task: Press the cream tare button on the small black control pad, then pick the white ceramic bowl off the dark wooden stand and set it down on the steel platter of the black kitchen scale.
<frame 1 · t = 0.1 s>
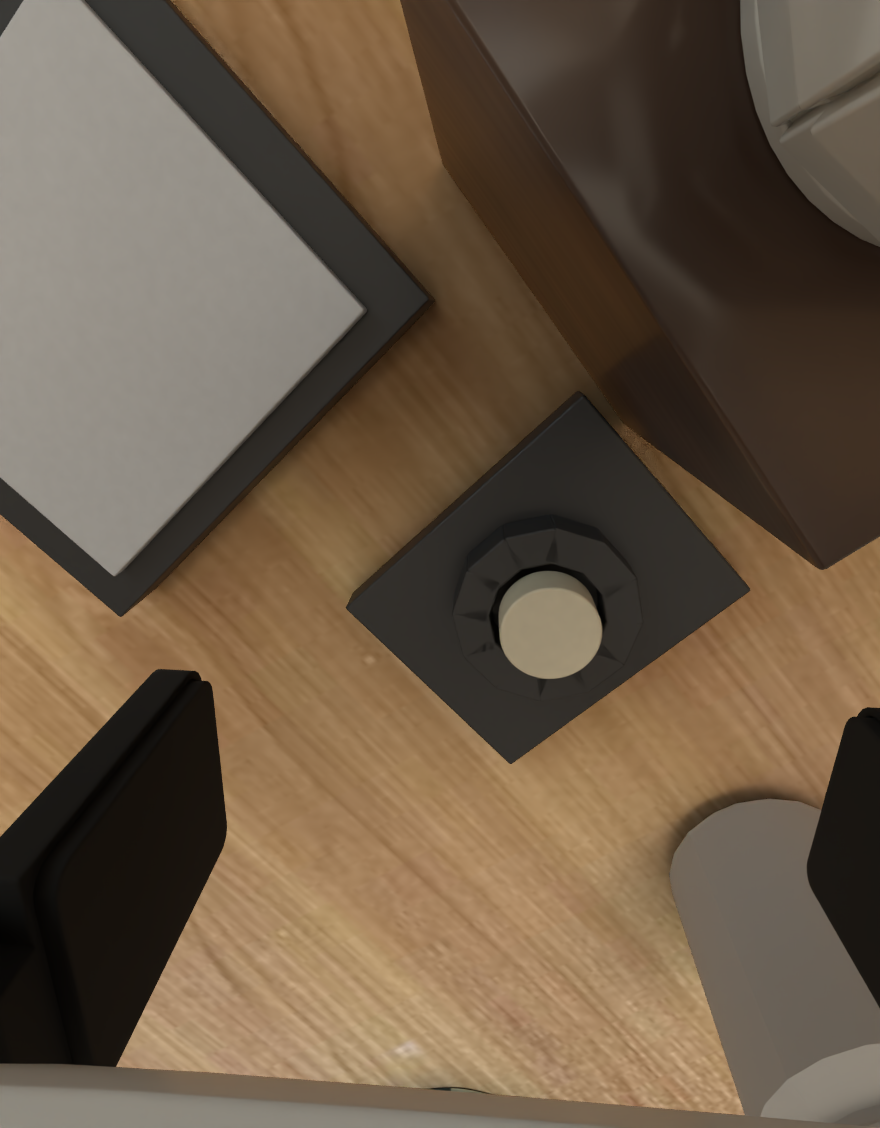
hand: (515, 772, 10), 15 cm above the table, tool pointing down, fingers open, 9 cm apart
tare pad: (540, 584, 25), on the table
scale: (140, 315, 22), on the table
stand: (673, 189, 20), on the table
can: (751, 852, 29), on the table
tare button: (548, 624, 22), point 3 cm above the table, slide at 0.1 cm
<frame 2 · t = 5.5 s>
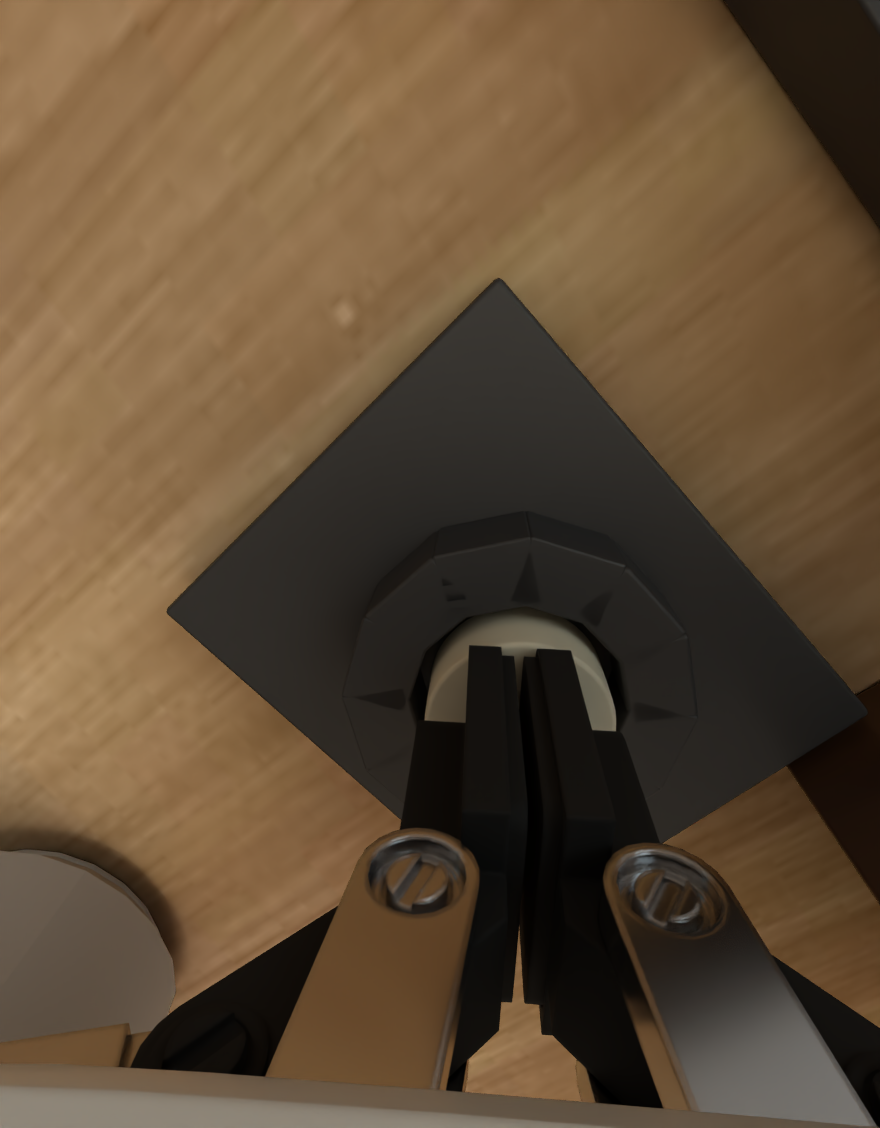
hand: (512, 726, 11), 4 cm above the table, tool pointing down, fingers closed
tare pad: (511, 632, 15), on the table
can: (62, 926, 19), on the table
tare button: (517, 704, 12), point 3 cm above the table, slide at -0.4 cm, touching gripper
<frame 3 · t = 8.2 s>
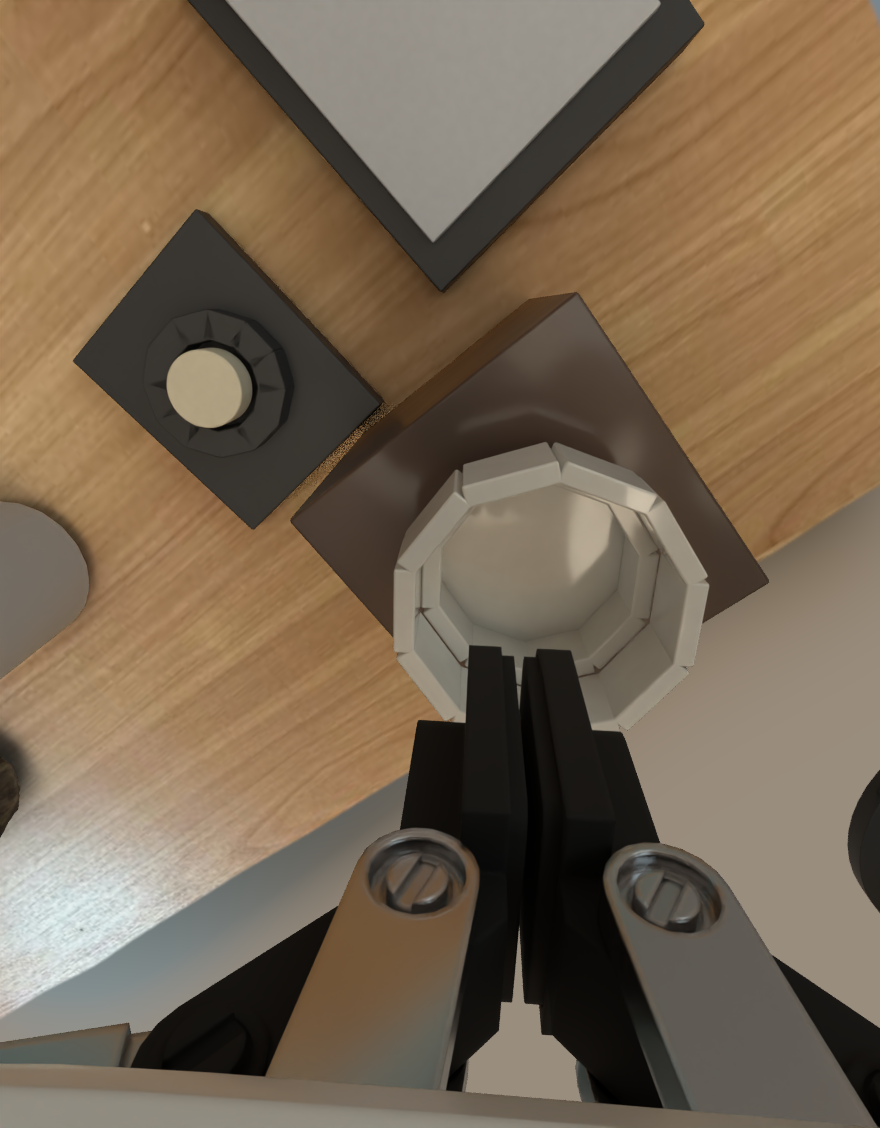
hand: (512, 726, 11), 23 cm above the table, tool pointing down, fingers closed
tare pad: (236, 379, 32), on the table
scale: (434, 23, 26), on the table
bowl: (530, 551, 19), point 14 cm above the table, touching stand
stand: (505, 453, 32), on the table
can: (31, 563, 36), on the table
tare button: (210, 387, 28), point 3 cm above the table, slide at 0.1 cm
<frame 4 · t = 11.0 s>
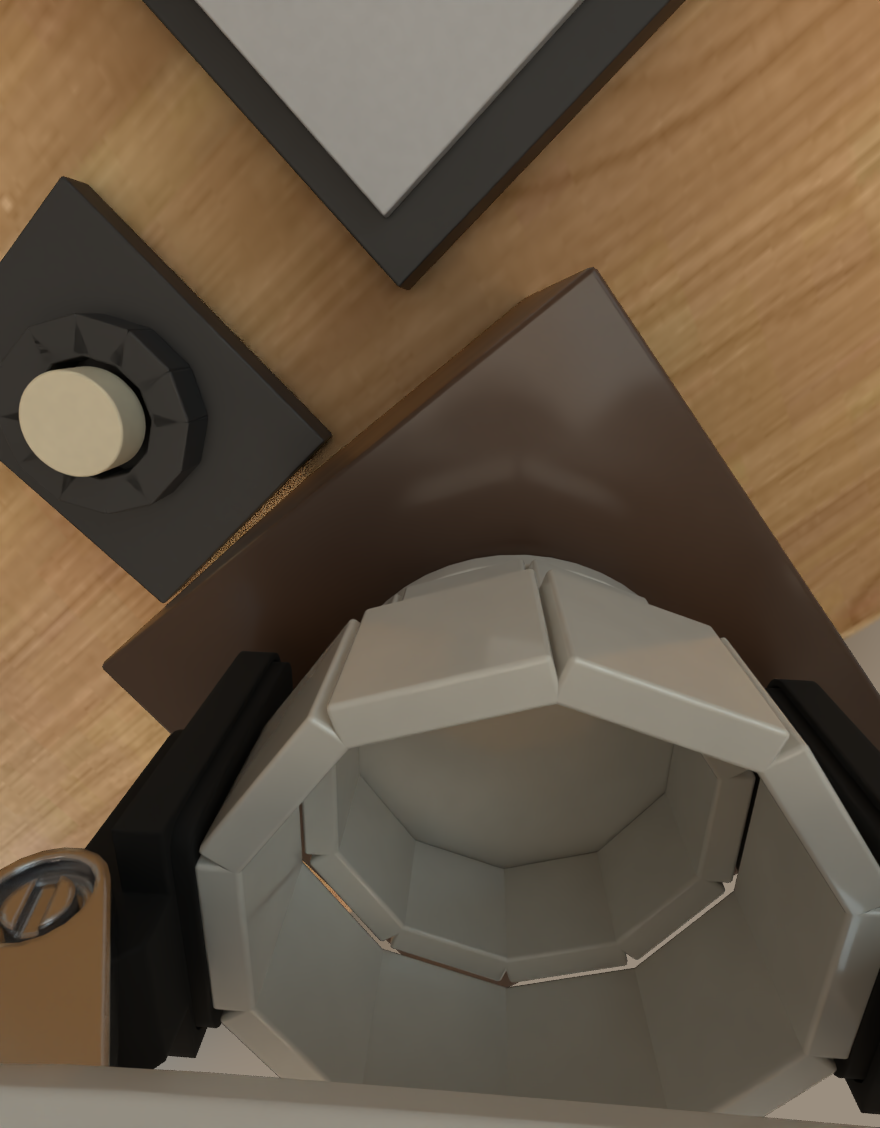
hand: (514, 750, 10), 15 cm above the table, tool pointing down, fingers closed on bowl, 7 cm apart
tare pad: (137, 407, 24), on the table
bowl: (512, 722, 11), point 14 cm above the table, touching gripper, stand
stand: (496, 503, 24), on the table
tare button: (84, 421, 21), point 3 cm above the table, slide at 0.1 cm
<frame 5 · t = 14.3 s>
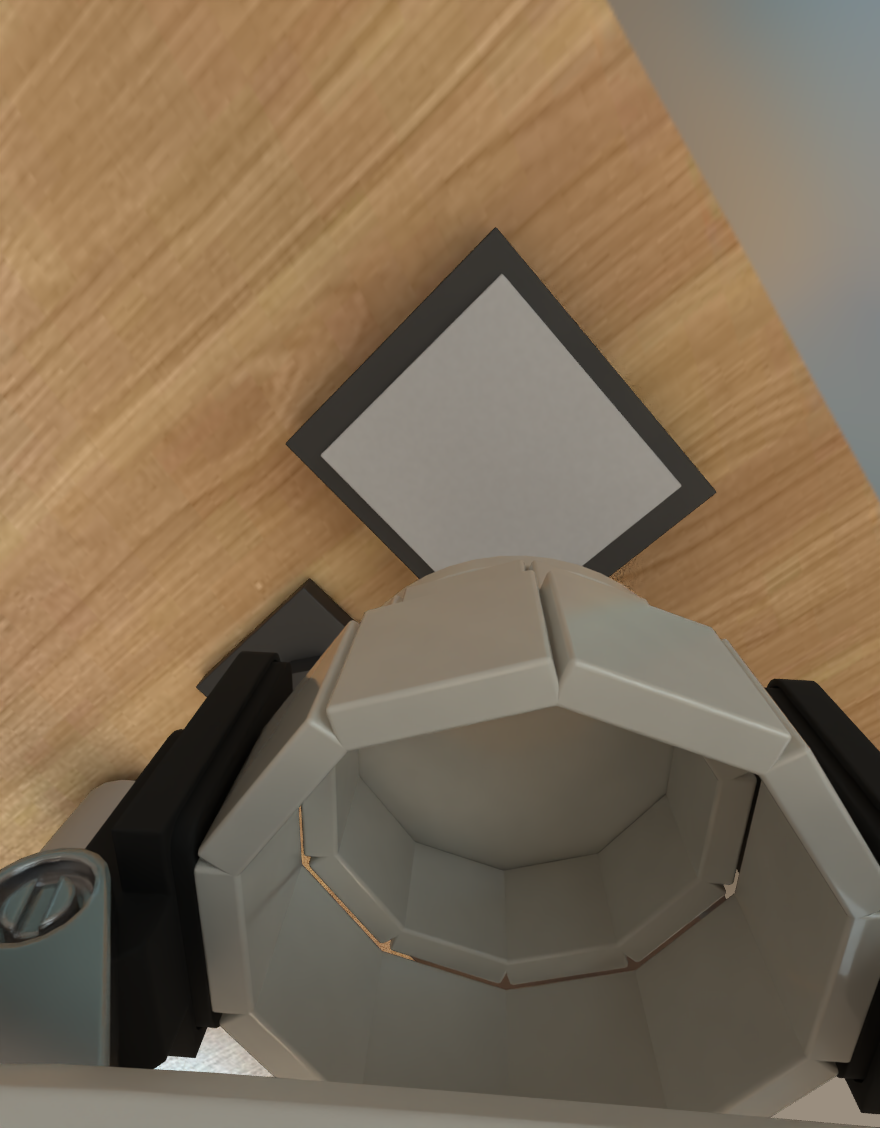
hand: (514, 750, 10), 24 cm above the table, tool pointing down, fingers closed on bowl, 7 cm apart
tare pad: (326, 693, 38), on the table
scale: (498, 456, 33), on the table
bowl: (512, 723, 11), point 23 cm above the table, touching gripper
stand: (550, 751, 39), on the table
can: (146, 817, 42), on the table
when the fingers open (4 cm above the table, at t = 17.8 s): bowl stays where it is, resting on scale.
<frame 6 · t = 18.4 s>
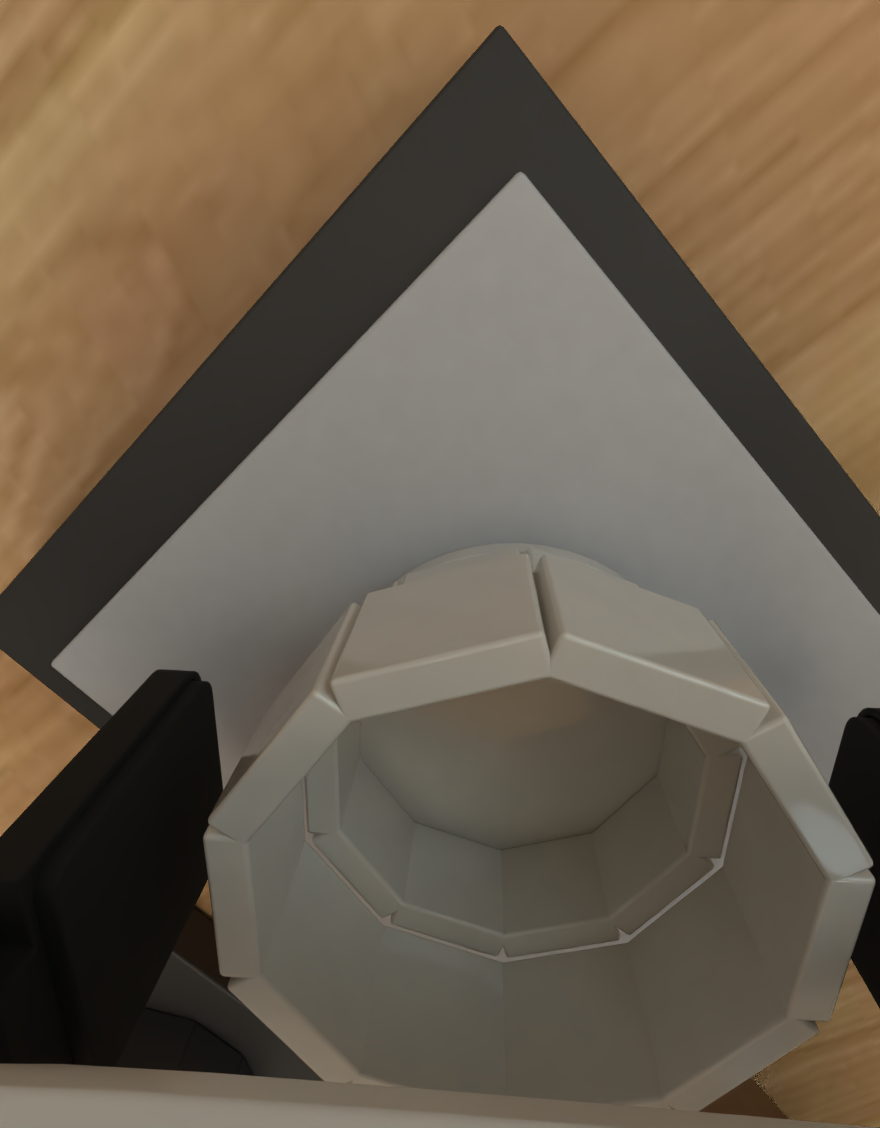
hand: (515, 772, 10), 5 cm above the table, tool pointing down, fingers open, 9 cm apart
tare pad: (173, 1033, 20), on the table
scale: (503, 624, 15), on the table
bowl: (508, 706, 11), point 3 cm above the table, touching scale
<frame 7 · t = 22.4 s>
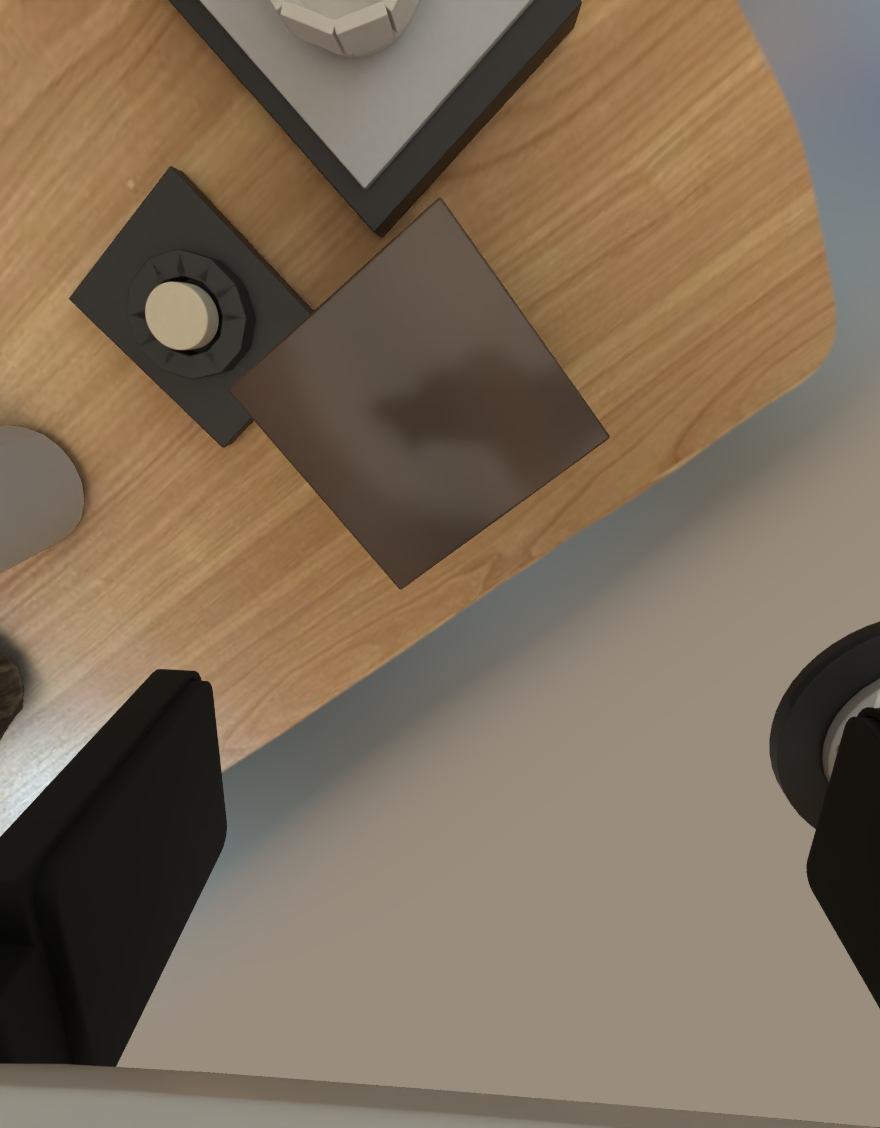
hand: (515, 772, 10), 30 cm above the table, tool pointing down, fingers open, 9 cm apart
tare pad: (208, 316, 37), on the table
scale: (366, 7, 32), on the table
stand: (440, 379, 37), on the table
can: (34, 483, 41), on the table
tare button: (182, 316, 34), point 3 cm above the table, slide at 0.1 cm
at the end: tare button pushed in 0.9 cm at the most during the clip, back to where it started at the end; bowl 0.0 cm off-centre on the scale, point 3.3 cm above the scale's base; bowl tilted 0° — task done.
